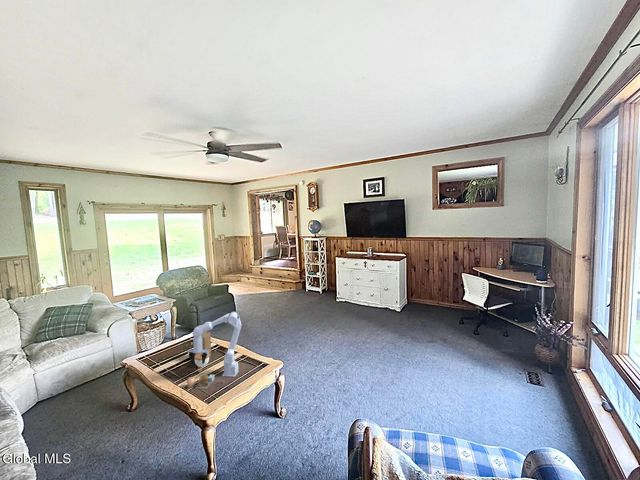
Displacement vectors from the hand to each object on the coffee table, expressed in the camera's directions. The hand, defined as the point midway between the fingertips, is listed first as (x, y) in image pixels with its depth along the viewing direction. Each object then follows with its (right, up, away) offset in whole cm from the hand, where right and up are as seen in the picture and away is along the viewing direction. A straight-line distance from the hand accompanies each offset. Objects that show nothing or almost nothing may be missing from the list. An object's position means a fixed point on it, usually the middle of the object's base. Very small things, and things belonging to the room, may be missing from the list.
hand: (198, 363), depth 198 cm
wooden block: (-9, -9, +28) cm, 30 cm away
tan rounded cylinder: (0, -11, -11) cm, 15 cm away
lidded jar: (-4, -9, +17) cm, 20 cm away
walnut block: (+8, -10, -10) cm, 16 cm away
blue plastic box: (+11, -10, -4) cm, 15 cm away
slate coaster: (+8, -10, -10) cm, 17 cm away
